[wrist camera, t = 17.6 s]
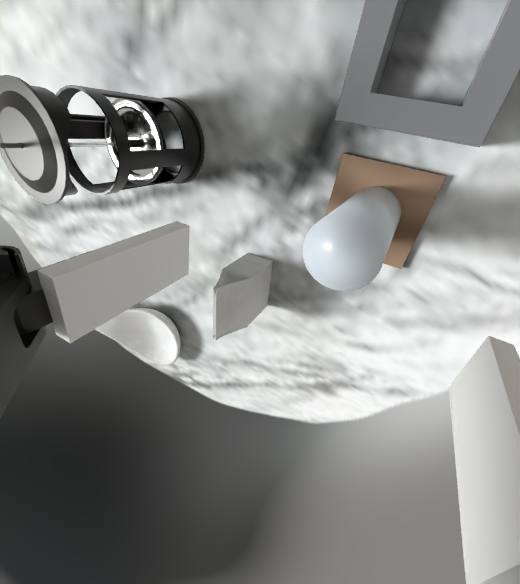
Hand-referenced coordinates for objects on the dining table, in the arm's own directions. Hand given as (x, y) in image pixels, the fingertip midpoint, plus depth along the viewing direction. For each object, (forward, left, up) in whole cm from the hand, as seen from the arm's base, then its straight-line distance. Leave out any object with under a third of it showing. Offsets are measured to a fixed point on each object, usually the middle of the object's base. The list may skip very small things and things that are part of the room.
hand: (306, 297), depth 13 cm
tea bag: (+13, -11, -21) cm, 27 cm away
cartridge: (0, 0, -20) cm, 20 cm away
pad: (0, 0, -20) cm, 20 cm away
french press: (-1, -26, -21) cm, 33 cm away
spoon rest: (+30, -34, -21) cm, 50 cm away
